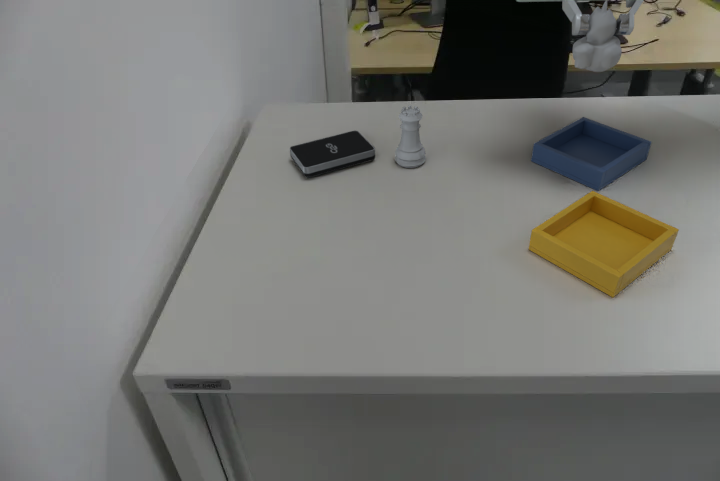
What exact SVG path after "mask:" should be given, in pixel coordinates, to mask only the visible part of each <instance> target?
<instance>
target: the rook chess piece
mask: <svg viewBox="0 0 720 481" xmlns="http://www.w3.org/2000/svg"><path fill="white" fill-rule="evenodd" d="M412 107H413V108H412ZM398 119H399V120H400V121H401V124H400V125H399V128H400V129H401V134H400V135H401V136H400V142H399V143H398V145H397V147H396V149H395V151H394V154H395V156H394V161H395V162H396V163H397V164H398V166H400V167H402V168H407V169H414V168H419V167H420V166H422V165H423V164H424V163H425V161H426V160H427V158H426V154H427V153H426V148H425V147H424V146H423V143H422V142H421V137H420V129H421V127H422V126H421V123H420V121H421V120H422V119H423V113H422V112H421V109H420V107H419V106H417V105H414V106H412V105H407V107H406V106H403V107H402V108H401V109H400V113H399V114H398Z"/></svg>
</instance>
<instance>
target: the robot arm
mask: <svg viewBox="0 0 720 481" xmlns="http://www.w3.org/2000/svg"><path fill="white" fill-rule="evenodd" d="M515 1H516V2H518V3H529V2H530V3H532V2H533V3H534V2H537V3H539V2H562V4H561V6H562V8H561V9H562V11H563V12H564V14H565V15H566V17H567V18H568V20H569V21H570V23H571V35H572V36H586V34H587V32H588V30H589V23H588V21H589V17H590V14H589V13H583V12H582V11H581V9H580V8H579V6H578V4H577V3H578V2H592V1H593V2H595V1H596V2H597V1H602V2H603V1H604V2H605V0H515ZM644 1H645V0H625V8H627V9H629V11H628V12H627V13H620V14H619V15H618V18H616V22H617V26H616V32H615V34H614V35H616V36H630V35H631V34H632V32H633V31H634V28H635V15H636V14H637V11H638V10H639V9H640V7H641V5H642V4H643V2H644Z"/></svg>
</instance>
